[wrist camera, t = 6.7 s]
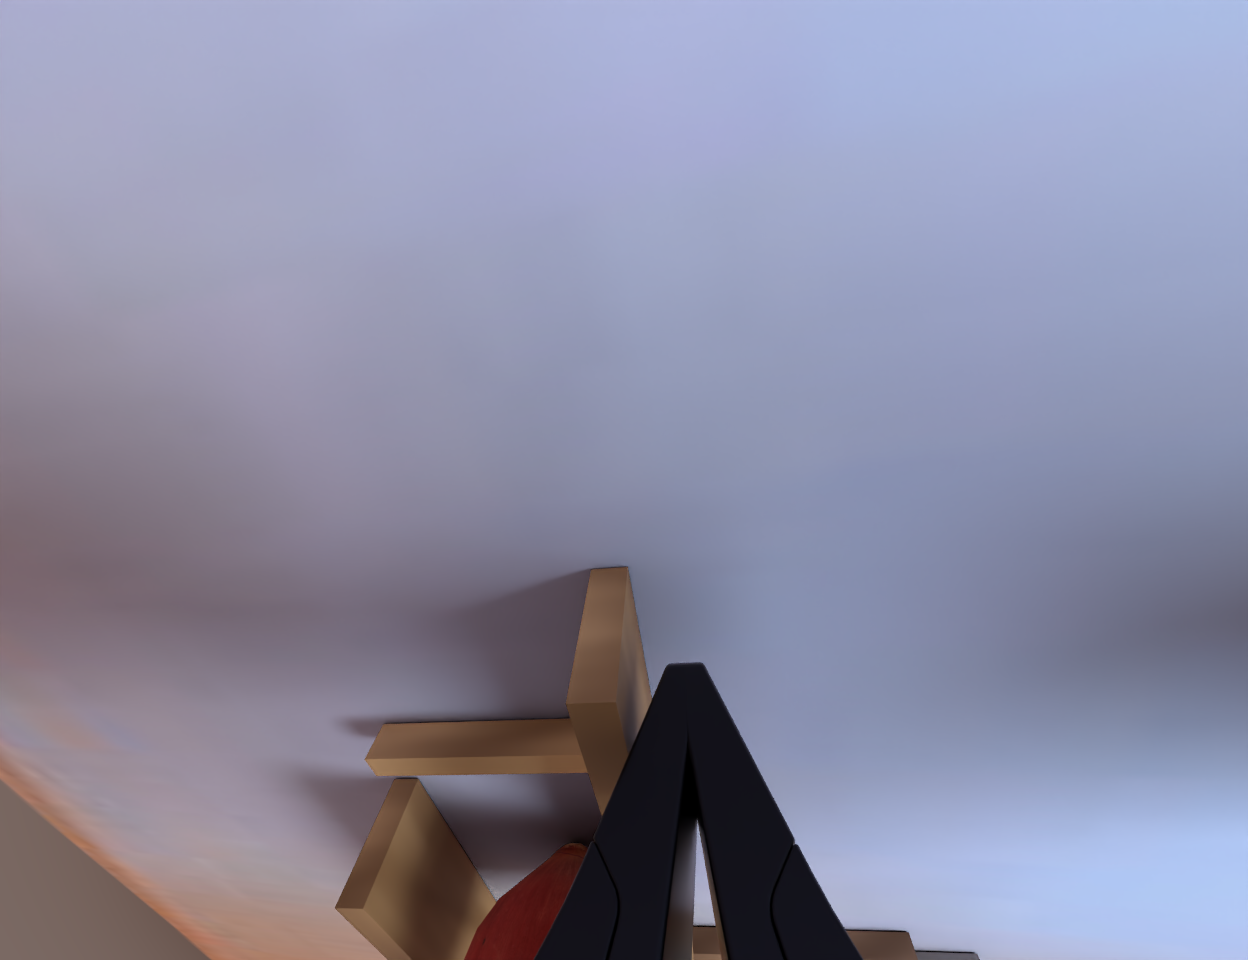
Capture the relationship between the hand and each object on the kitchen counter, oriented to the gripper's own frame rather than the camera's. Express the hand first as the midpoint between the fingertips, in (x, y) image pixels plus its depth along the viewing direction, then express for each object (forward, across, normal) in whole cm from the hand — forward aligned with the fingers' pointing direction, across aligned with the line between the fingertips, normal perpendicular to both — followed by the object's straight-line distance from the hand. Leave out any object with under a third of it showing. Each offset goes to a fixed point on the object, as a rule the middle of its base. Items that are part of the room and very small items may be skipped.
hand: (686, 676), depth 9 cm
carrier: (+2, +5, +7) cm, 9 cm away
